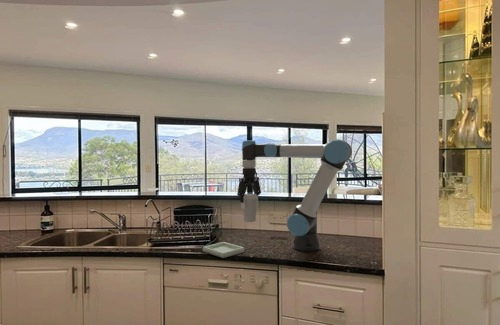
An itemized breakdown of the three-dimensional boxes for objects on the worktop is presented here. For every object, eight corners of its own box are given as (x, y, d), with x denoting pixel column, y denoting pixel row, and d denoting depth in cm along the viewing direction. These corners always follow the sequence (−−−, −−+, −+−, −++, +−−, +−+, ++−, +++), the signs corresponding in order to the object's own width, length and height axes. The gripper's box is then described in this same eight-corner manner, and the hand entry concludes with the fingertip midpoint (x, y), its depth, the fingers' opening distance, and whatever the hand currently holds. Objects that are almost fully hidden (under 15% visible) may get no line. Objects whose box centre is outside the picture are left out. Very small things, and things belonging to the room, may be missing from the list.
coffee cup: (260, 219, 186) (260, 193, 185) (254, 223, 177) (253, 195, 177) (245, 218, 190) (245, 193, 189) (238, 221, 181) (238, 195, 181)
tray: (244, 252, 176) (244, 247, 176) (223, 258, 165) (223, 253, 165) (223, 246, 188) (223, 241, 188) (202, 251, 177) (202, 246, 177)
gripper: (257, 167, 193) (258, 204, 194) (230, 168, 178) (230, 209, 178) (267, 167, 188) (267, 205, 188) (239, 168, 172) (240, 210, 173)
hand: (249, 207), depth 183 cm, fingers closed on coffee cup, 9 cm apart
